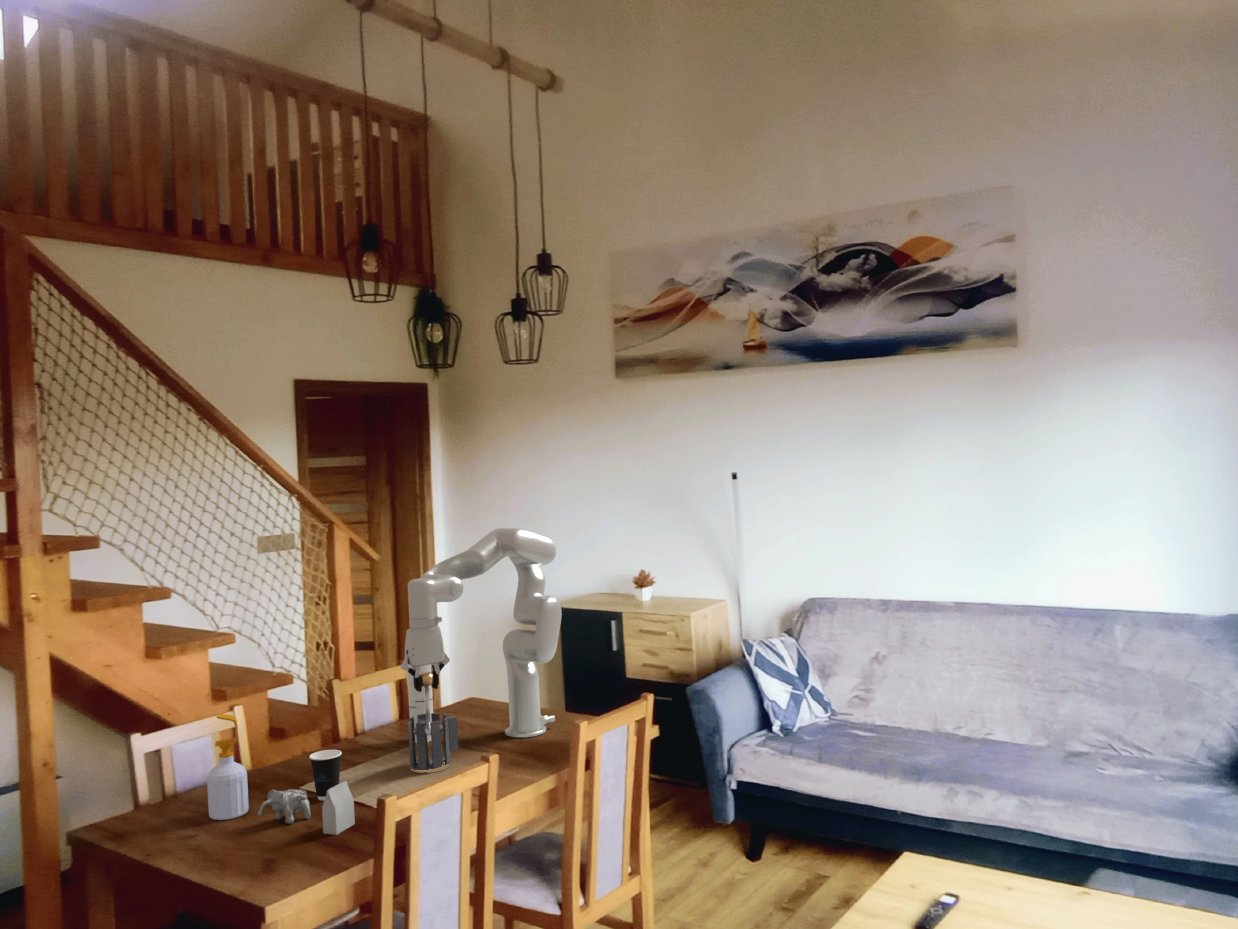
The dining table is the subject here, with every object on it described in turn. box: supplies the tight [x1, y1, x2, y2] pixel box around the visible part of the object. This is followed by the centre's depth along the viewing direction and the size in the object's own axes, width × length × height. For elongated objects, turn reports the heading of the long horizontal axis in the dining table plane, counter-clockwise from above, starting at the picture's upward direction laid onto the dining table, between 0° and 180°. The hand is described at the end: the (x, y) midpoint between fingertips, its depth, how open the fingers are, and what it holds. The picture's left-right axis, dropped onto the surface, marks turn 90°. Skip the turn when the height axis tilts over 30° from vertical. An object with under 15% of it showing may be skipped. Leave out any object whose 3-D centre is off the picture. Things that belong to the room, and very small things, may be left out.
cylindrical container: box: [406, 664, 434, 743], centre depth 295 cm, size 7×7×25 cm
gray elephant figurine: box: [257, 788, 311, 825], centre depth 231 cm, size 9×12×8 cm
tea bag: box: [321, 780, 356, 836], centre depth 224 cm, size 4×7×10 cm, turn 159°
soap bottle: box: [206, 713, 250, 821], centre depth 238 cm, size 9×9×25 cm
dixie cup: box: [308, 749, 342, 801], centre depth 247 cm, size 8×8×11 cm
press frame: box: [407, 712, 459, 770], centre depth 269 cm, size 14×11×14 cm
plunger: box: [413, 671, 443, 735], centre depth 268 cm, size 8×8×16 cm
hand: (426, 688), depth 268 cm, fingers closed on plunger, 4 cm apart
